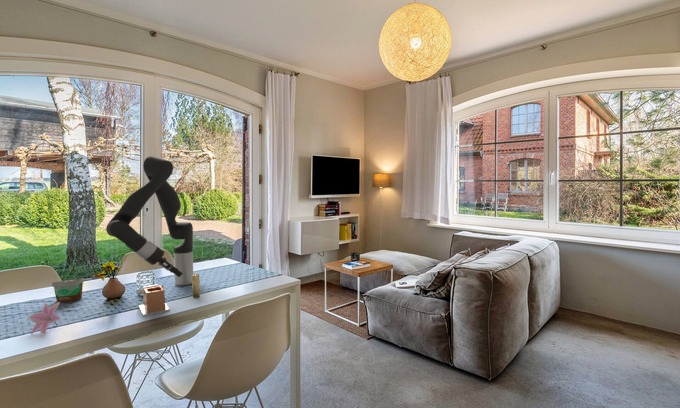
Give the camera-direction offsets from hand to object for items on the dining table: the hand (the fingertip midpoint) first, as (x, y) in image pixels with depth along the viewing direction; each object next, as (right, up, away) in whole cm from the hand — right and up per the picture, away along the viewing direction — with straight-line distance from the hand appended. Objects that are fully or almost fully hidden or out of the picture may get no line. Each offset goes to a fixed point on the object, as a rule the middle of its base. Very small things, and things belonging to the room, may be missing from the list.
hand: (178, 273), depth 162 cm
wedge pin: (+6, -13, +6) cm, 15 cm away
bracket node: (-6, -14, -9) cm, 18 cm away
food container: (-51, -13, 0) cm, 53 cm away
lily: (-36, -16, -30) cm, 50 cm away
